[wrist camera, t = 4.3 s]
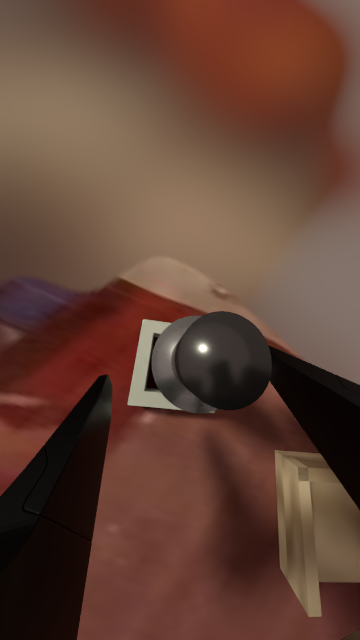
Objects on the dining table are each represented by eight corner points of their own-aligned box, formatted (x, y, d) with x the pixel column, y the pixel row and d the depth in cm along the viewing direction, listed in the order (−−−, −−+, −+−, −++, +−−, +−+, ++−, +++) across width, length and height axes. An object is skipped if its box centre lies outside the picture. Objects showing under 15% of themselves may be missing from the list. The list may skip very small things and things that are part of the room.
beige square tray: (369, 569, 15) (417, 615, 13) (279, 567, 15) (309, 616, 12) (351, 455, 18) (388, 473, 15) (274, 449, 17) (297, 466, 14)
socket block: (207, 406, 18) (214, 413, 15) (132, 399, 17) (127, 404, 15) (211, 333, 20) (218, 329, 17) (145, 325, 19) (143, 319, 17)
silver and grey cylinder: (190, 384, 18) (309, 457, 4) (154, 380, 18) (130, 443, 3) (193, 348, 19) (294, 295, 5) (159, 344, 19) (158, 274, 5)
